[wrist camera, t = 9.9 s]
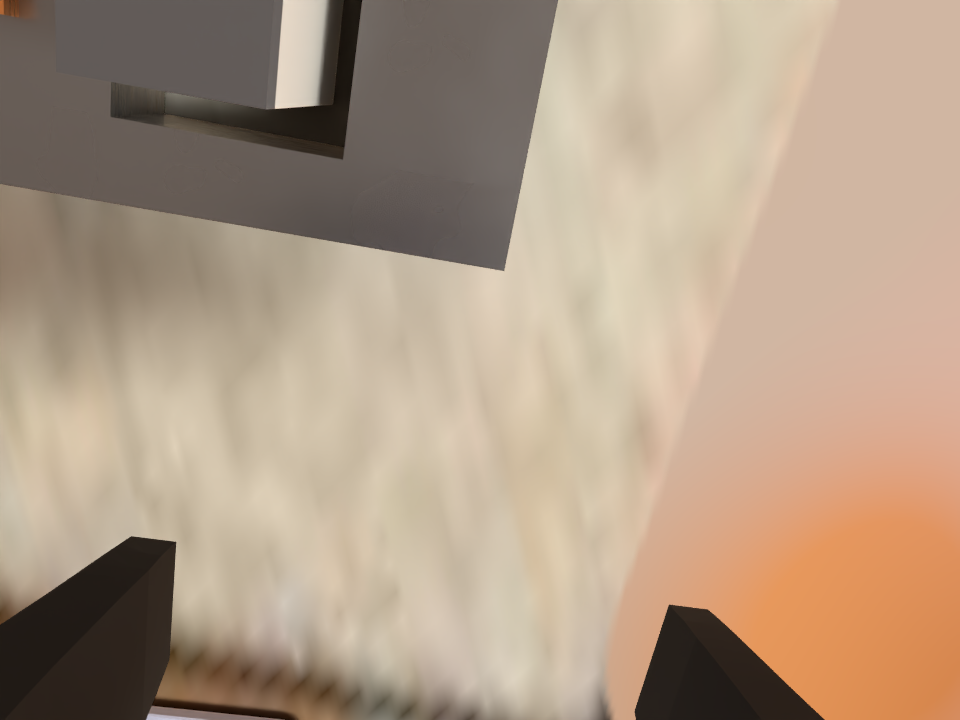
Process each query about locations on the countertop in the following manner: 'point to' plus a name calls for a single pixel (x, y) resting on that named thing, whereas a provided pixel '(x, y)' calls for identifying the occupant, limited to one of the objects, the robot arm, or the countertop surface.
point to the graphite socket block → (301, 163)
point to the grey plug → (206, 47)
